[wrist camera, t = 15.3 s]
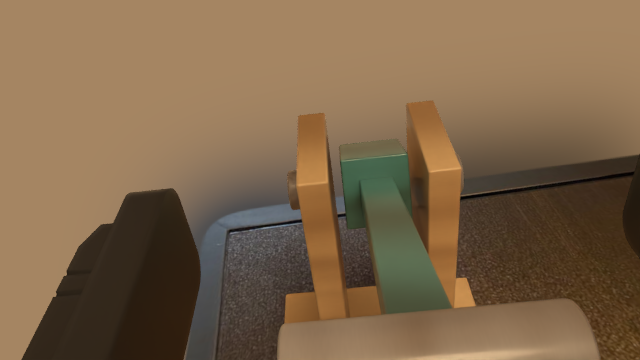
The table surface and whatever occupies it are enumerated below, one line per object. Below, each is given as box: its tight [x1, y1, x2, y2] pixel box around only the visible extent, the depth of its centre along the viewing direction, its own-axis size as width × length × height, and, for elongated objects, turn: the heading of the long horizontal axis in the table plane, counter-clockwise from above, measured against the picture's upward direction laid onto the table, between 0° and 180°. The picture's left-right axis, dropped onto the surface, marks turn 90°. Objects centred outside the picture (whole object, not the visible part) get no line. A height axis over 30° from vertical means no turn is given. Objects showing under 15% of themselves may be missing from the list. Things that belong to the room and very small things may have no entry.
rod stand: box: [284, 101, 476, 324], centre depth 22 cm, size 10×10×14 cm
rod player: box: [277, 139, 601, 360], centre depth 14 cm, size 13×4×2 cm, turn 1°
